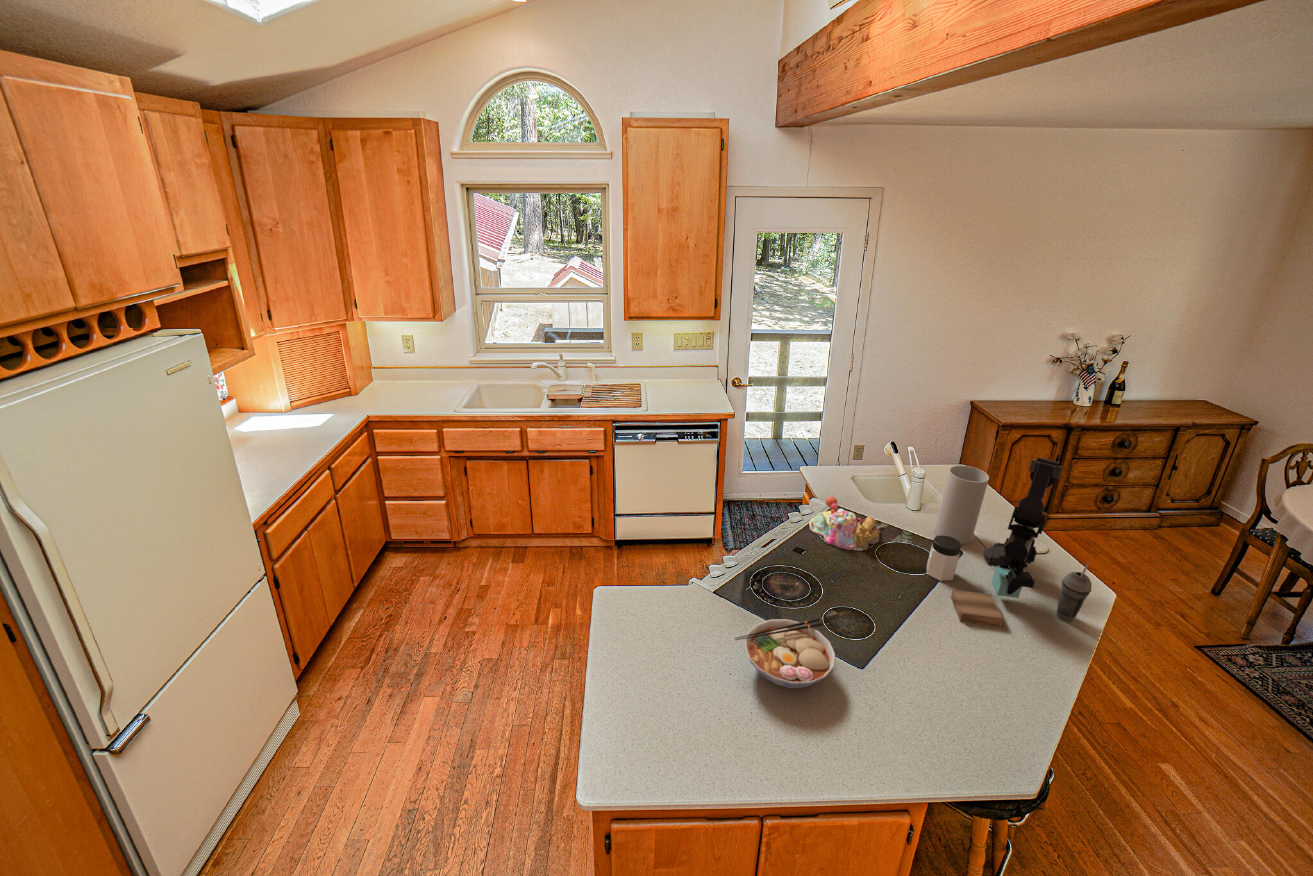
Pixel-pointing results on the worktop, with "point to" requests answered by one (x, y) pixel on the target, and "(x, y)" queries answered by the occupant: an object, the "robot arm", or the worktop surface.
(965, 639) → the worktop surface
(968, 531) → the cylinder vase
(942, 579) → the jar
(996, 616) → the walnut base
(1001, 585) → the teal block
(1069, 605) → the beverage cup
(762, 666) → the ramen bowl
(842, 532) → the pastel sphere sculpture
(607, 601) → the worktop surface
